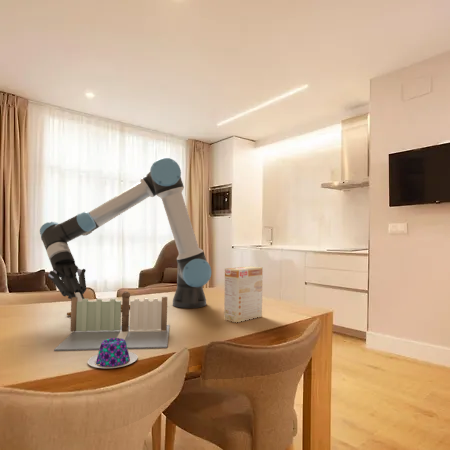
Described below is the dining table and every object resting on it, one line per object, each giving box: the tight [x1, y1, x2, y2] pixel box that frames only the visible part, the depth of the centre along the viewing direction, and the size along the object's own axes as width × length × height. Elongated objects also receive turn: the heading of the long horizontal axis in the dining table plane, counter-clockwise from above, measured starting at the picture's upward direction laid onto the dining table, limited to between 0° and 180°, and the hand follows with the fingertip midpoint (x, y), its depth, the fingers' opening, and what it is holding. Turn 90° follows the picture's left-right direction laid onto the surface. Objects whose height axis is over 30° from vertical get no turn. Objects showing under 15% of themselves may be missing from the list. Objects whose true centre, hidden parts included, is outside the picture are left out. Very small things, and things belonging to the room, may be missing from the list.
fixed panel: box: [129, 296, 168, 331], centre depth 111 cm, size 12×2×11 cm, turn 98°
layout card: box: [53, 324, 170, 352], centre depth 105 cm, size 30×23×1 cm
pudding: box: [87, 338, 139, 369], centre depth 86 cm, size 12×12×5 cm
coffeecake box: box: [223, 265, 263, 324], centre depth 132 cm, size 15×7×20 cm, turn 135°
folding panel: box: [69, 297, 122, 333], centre depth 109 cm, size 15×2×10 cm, turn 98°
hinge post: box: [121, 291, 131, 332], centre depth 110 cm, size 3×3×13 cm
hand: (82, 310), depth 113 cm, fingers closed
